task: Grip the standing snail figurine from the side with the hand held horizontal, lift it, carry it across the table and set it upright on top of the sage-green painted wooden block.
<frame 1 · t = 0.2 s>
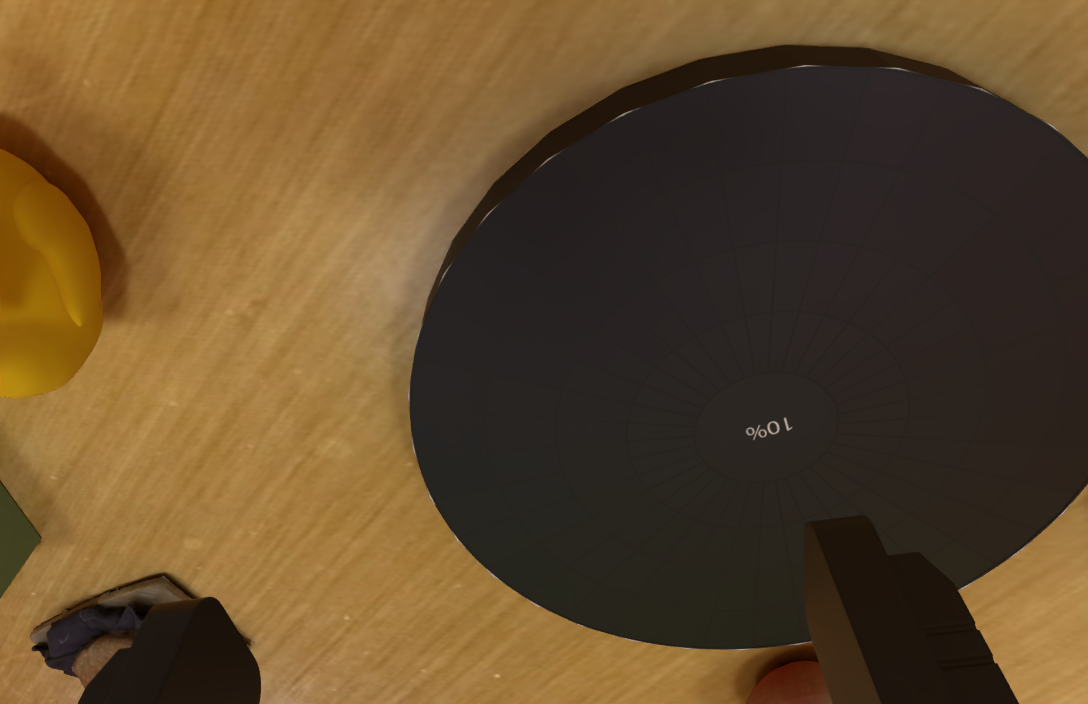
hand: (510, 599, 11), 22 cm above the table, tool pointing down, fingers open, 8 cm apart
duckling: (35, 205, 32), on the table
disc: (750, 386, 36), on the table
fruit: (797, 675, 49), on the table
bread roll: (144, 634, 46), on the table
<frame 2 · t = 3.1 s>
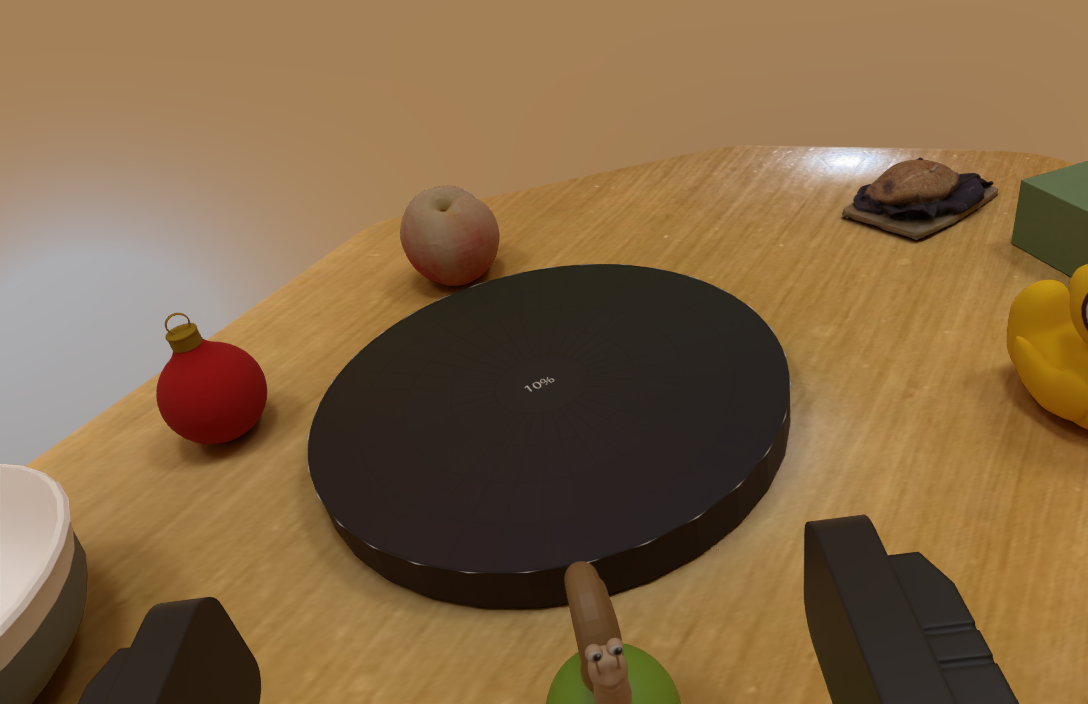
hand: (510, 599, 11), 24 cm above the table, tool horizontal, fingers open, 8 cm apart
christmas ornament: (234, 433, 58), on the table
disc: (550, 420, 52), on the table
fruit: (462, 278, 71), on the table
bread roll: (918, 208, 66), on the table
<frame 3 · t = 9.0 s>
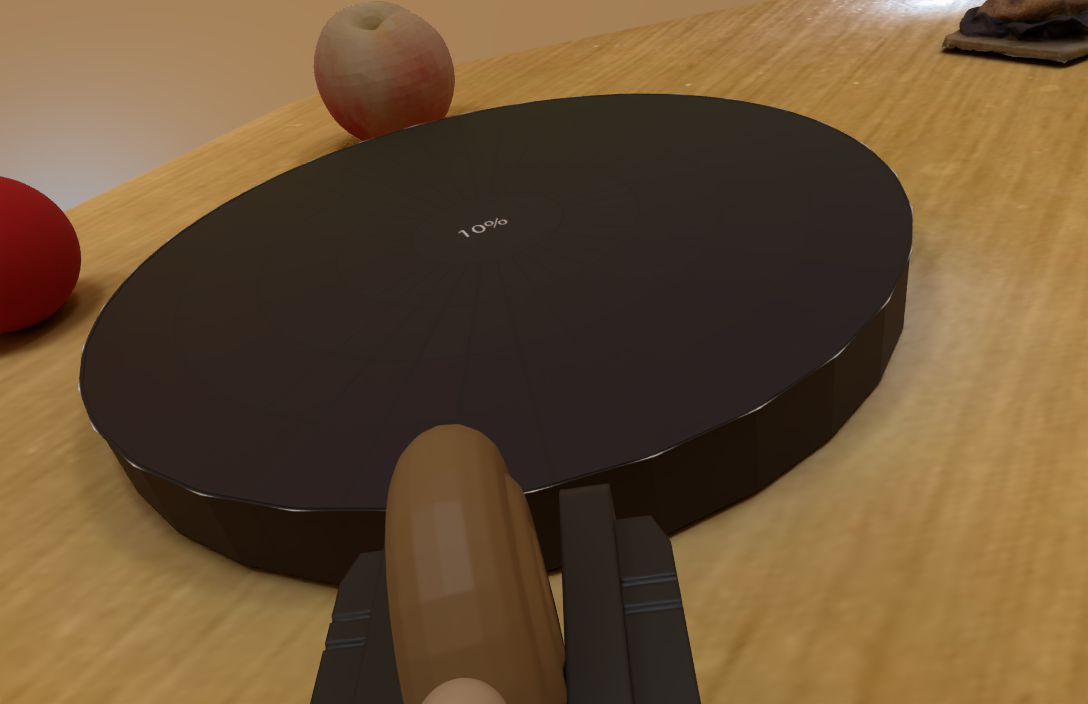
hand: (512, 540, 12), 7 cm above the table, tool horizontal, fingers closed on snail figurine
christmas ornament: (34, 324, 38), on the table
disc: (502, 293, 33), on the table
fruit: (404, 141, 51), on the table
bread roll: (1053, 36, 46), on the table
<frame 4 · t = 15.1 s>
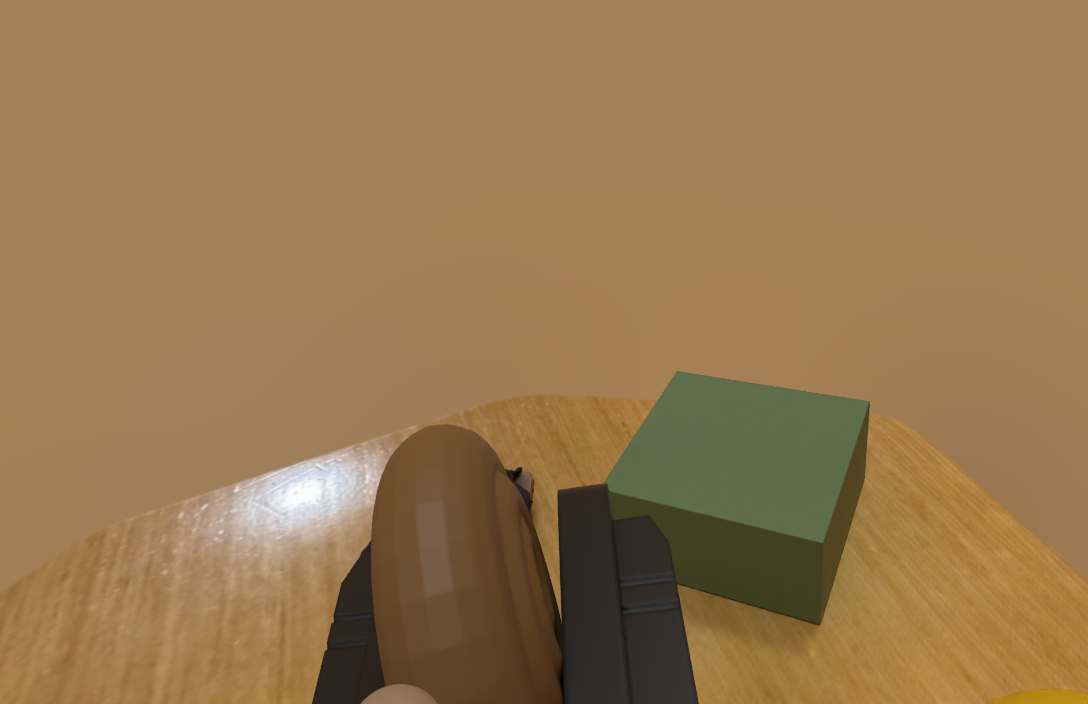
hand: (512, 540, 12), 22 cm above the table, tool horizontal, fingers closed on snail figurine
green block: (741, 520, 41), on the table
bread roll: (453, 547, 43), on the table
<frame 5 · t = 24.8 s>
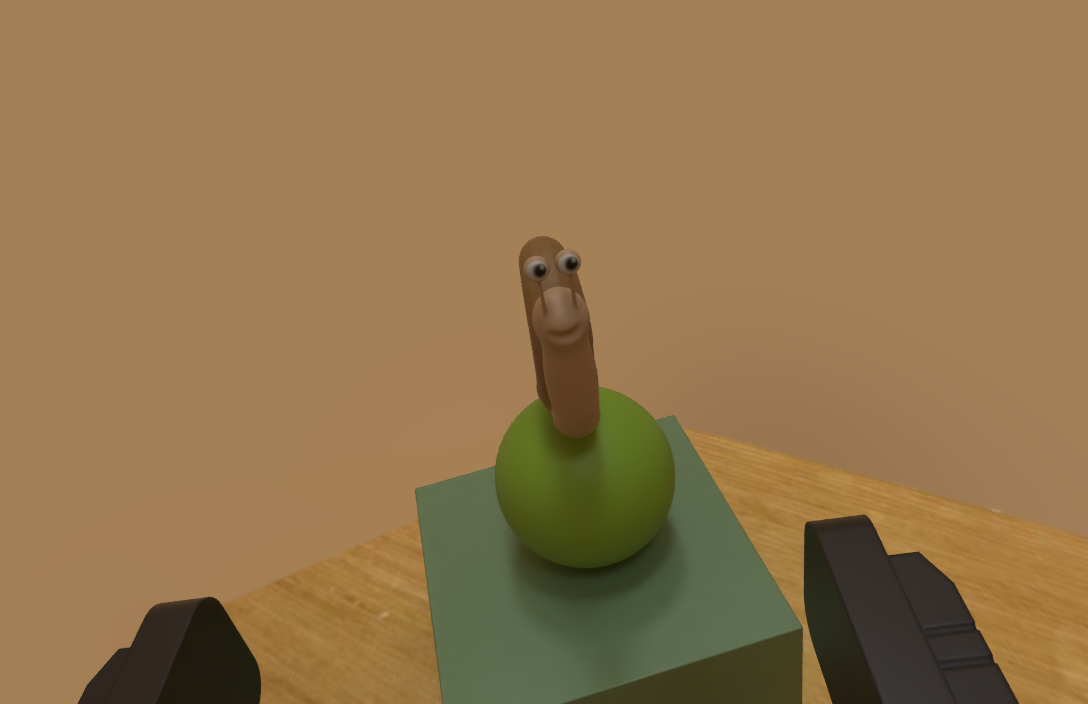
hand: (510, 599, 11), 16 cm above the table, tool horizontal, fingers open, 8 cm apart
snail figurine: (600, 552, 26), point 5 cm above the table, touching green block
green block: (601, 644, 28), on the table
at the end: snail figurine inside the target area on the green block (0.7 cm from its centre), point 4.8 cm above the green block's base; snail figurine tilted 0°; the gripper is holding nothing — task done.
